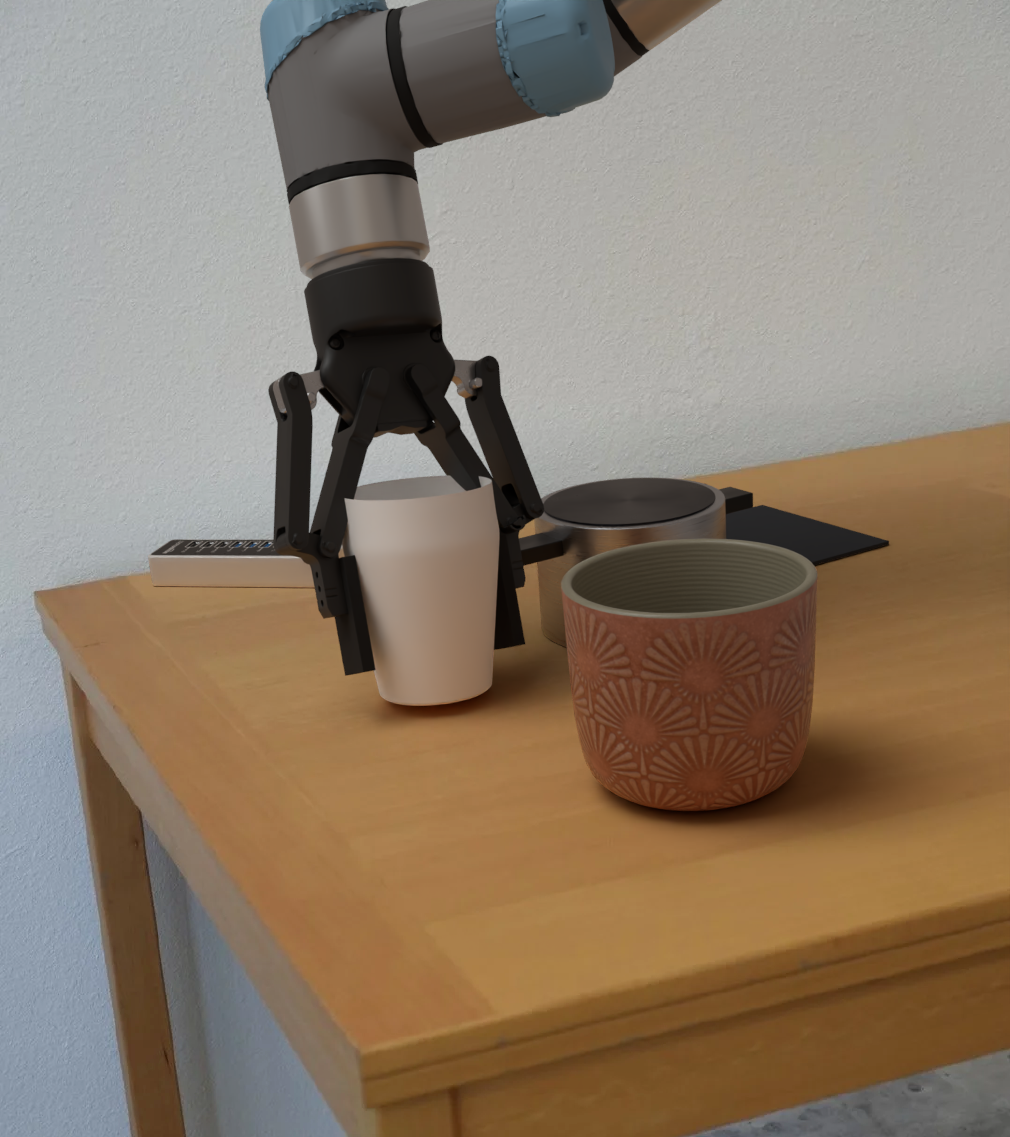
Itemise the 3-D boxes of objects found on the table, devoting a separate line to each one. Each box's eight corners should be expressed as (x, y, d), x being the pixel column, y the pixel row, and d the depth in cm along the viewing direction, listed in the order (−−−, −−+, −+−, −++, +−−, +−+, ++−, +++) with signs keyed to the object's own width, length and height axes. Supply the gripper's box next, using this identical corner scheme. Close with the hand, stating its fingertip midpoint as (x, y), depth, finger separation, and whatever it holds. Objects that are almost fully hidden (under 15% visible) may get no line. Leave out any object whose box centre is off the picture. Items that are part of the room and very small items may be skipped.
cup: (395, 671, 106) (374, 477, 102) (533, 671, 103) (516, 472, 99) (334, 711, 98) (309, 503, 94) (481, 713, 95) (461, 498, 91)
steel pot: (803, 612, 109) (802, 489, 106) (570, 681, 101) (561, 549, 98) (689, 572, 119) (685, 457, 116) (467, 632, 111) (457, 510, 107)
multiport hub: (334, 587, 122) (330, 556, 121) (150, 586, 125) (145, 555, 125) (354, 569, 126) (351, 538, 125) (175, 567, 129) (171, 538, 128)
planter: (746, 852, 79) (741, 629, 75) (526, 802, 86) (510, 595, 82) (858, 755, 88) (860, 552, 84) (651, 717, 95) (643, 528, 91)
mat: (889, 544, 121) (889, 540, 121) (734, 588, 115) (734, 583, 115) (762, 508, 132) (762, 504, 132) (615, 546, 126) (614, 542, 126)
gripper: (502, 280, 106) (564, 638, 107) (165, 299, 96) (238, 694, 97) (561, 244, 99) (627, 626, 100) (206, 261, 89) (284, 685, 90)
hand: (436, 659), depth 99 cm, fingers closed on cup, 9 cm apart
